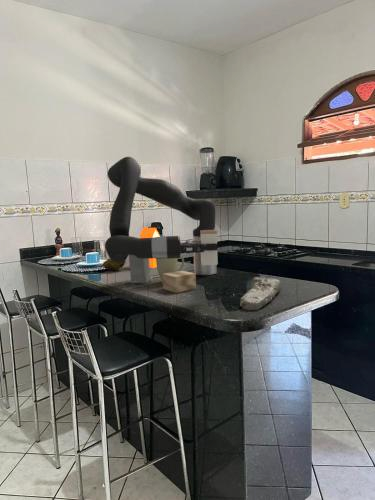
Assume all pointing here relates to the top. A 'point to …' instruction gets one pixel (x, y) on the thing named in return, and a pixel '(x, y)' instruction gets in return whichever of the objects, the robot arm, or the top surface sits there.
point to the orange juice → (150, 234)
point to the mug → (167, 266)
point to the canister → (211, 256)
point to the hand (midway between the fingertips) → (216, 245)
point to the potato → (113, 265)
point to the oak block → (179, 281)
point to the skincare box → (139, 269)
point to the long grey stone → (260, 293)
